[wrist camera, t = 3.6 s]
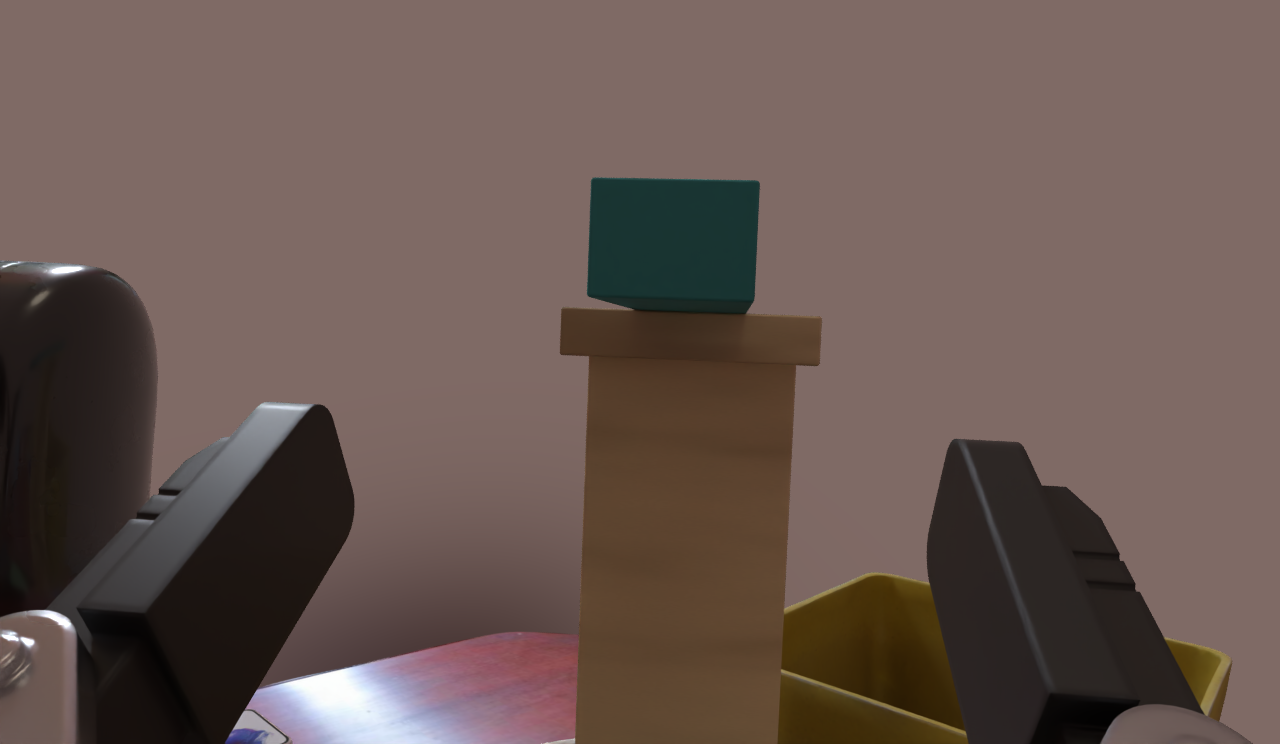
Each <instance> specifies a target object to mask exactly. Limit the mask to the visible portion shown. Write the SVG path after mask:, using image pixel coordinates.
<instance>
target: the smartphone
mask: <svg viewBox="0 0 1280 744" xmlns="http://www.w3.org/2000/svg"><path fill="white" fill-rule="evenodd" d="M225 744H292V740H291V738H290V737H289V736H287V735H286V734H285V733H284V732H282V731H281V730H280V729H279V728H277V727H276V726H275V725H274V724H272V723H271V722H270V721H269V720H267V719H266V718H265V717H263V716H262V715H261V714H260V713H258V712H257V711H255V710H252V709H247V710H244V712H243V713H242V715H241V717H240V718H239V720H238V722H237V724H236V725H235V727H234V729H233V730H232V732H231V734H230V735H229V737H228V739H227V740H226V742H225Z"/></svg>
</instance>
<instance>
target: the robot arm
mask: <svg viewBox="0 0 1280 744" xmlns="http://www.w3.org/2000/svg"><path fill="white" fill-rule="evenodd" d="M157 381H158V371H157V350H156V345H155V339H154V333H153V328H152V325H151V322H150V319H149V316H148V313H147V311H146V308H145V306H144V304H143V302H142V301H141V299H140V298H139V296H138V295H137V293H136V291H135V290H134V289H133V288H132V287H131V286H130V285H129V284H128V283H127V282H126V281H125V280H123V279H122V278H120V277H119V276H118V275H116V274H114V273H112V272H109V271H107V270H104V269H102V268H97V267H91V266H85V265H77V264H64V263H44V262H21V261H0V744H225V742H226V740H227V739H228V737H229V735H230V734H231V732H232V730H233V729H234V727H235V725H236V724H237V722H238V720H239V718H240V717H241V715H242V713H243V712H244V710H245V708H246V707H247V705H248V703H249V702H250V700H251V698H252V697H253V695H254V693H255V692H256V690H257V688H258V687H259V685H260V683H261V682H262V680H263V678H264V677H265V675H266V673H267V671H268V670H269V668H270V667H271V665H272V663H273V662H274V660H275V658H276V657H277V655H278V653H279V652H280V650H281V648H282V647H283V645H284V643H285V641H286V640H287V638H288V636H289V635H290V633H291V631H292V630H293V628H294V626H295V624H296V623H297V621H298V620H299V618H300V616H301V615H302V613H303V611H304V610H305V608H306V606H307V605H308V603H309V601H310V599H311V598H312V596H313V594H314V593H315V591H316V590H317V588H318V586H319V585H320V583H321V581H322V580H323V578H324V576H325V575H326V573H327V571H328V569H329V568H330V566H331V565H332V563H333V561H334V560H335V558H336V556H337V554H338V553H339V551H340V549H341V548H342V546H343V544H344V543H345V541H346V539H347V537H348V535H349V532H350V530H351V526H352V522H353V516H354V494H353V490H352V486H351V482H350V479H349V476H348V472H347V468H346V464H345V461H344V458H343V454H342V450H341V447H340V443H339V439H338V436H337V432H336V428H335V425H334V421H333V418H332V415H331V413H330V412H329V410H328V409H327V408H326V407H325V406H323V405H316V404H297V403H278V402H265V403H262V404H261V405H259V406H258V407H257V408H256V409H255V410H254V411H253V412H252V413H251V414H250V416H249V417H248V418H247V419H246V420H245V421H244V422H243V423H242V424H241V425H240V427H239V428H238V429H237V430H236V431H235V432H234V433H233V434H232V435H231V436H230V438H229V437H223V438H221V439H219V440H218V441H216V442H215V443H213V444H211V445H210V446H208V447H207V448H205V449H204V450H202V451H200V452H199V453H197V454H196V455H194V456H192V457H191V458H189V459H188V460H186V461H185V462H184V463H183V464H182V465H181V466H180V468H178V469H177V470H176V471H175V473H173V475H172V476H171V477H170V478H169V479H168V480H167V481H166V482H165V483H164V484H163V485H162V486H161V487H160V488H159V494H158V495H153V496H152V497H151V498H150V484H151V468H152V454H153V442H154V429H155V417H156V405H157V383H158V382H157ZM1119 555H1120V554H1119V552H1118V550H1117V548H1116V546H1115V544H1114V542H1113V540H1112V538H1111V537H1110V535H1109V533H1108V531H1107V529H1106V527H1105V525H1104V523H1103V521H1102V520H1101V518H1100V517H1099V516H1098V515H1097V514H1095V513H1094V512H1093V511H1092V510H1091V509H1090V508H1089V507H1088V506H1087V505H1086V504H1084V503H1083V502H1082V501H1081V500H1080V499H1079V498H1078V497H1077V496H1076V495H1075V494H1073V493H1072V492H1071V491H1070V490H1069V489H1068V488H1067V487H1058V486H1042V485H1041V483H1040V481H1039V479H1038V477H1037V474H1036V472H1035V470H1034V468H1033V466H1032V464H1031V461H1030V459H1029V457H1028V455H1027V453H1026V451H1025V449H1024V447H1023V446H1022V445H1021V444H1020V443H1018V442H1005V441H985V440H965V439H954V440H952V442H951V443H950V445H949V448H948V450H947V454H946V458H945V462H944V467H943V471H942V475H941V480H940V484H939V489H938V493H937V497H936V502H935V506H934V511H933V515H932V519H931V524H930V528H929V533H928V542H927V569H928V577H929V583H930V587H931V591H932V595H933V600H934V604H935V608H936V612H937V616H938V620H939V624H940V628H941V632H942V637H943V641H944V645H945V649H946V653H947V657H948V661H949V665H950V669H951V673H952V678H953V682H954V686H955V690H956V694H957V698H958V702H959V706H960V710H961V714H962V719H963V723H964V727H965V731H966V735H967V739H968V743H969V744H1253V743H1251V742H1250V741H1248V740H1247V739H1246V738H1244V737H1243V736H1242V735H1240V734H1239V733H1237V732H1236V731H1234V730H1232V729H1231V728H1229V727H1228V726H1226V725H1224V724H1222V723H1221V722H1219V721H1216V720H1214V719H1212V718H1210V717H1208V716H1206V715H1205V714H1204V712H1203V710H1202V709H1201V707H1200V705H1199V703H1198V701H1197V699H1196V698H1195V696H1194V694H1193V692H1192V690H1191V688H1190V686H1189V684H1188V682H1187V681H1186V679H1185V677H1184V675H1183V673H1182V671H1181V669H1180V667H1179V665H1178V663H1177V662H1176V660H1175V658H1174V656H1173V654H1172V652H1171V650H1170V648H1169V646H1168V644H1167V643H1166V641H1165V639H1164V637H1163V635H1162V633H1161V631H1160V629H1159V628H1158V626H1157V624H1156V622H1155V620H1154V618H1153V616H1152V614H1151V612H1150V610H1149V608H1148V607H1147V605H1146V603H1145V601H1144V599H1143V597H1142V595H1141V593H1140V592H1136V590H1135V582H1134V580H1133V578H1132V577H1131V574H1130V572H1129V571H1128V569H1127V567H1126V565H1125V563H1124V561H1120V559H1119Z"/></svg>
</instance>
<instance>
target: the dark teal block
mask: <svg viewBox="0 0 1280 744" xmlns="http://www.w3.org/2000/svg"><path fill="white" fill-rule="evenodd" d="M759 189H760V183H759V182H758V181H755V180H754V181H753V180H751V181H750V180H702V179H699V180H698V179H648V178H593V179H592V180H591V200H590V228H589V255H588V282H587V295H588V296H589V297H591V298H595V299H599V300H602V301H606V302H609V303H613V304H617V305H620V306H624V307H627V308H632V309H635V310H658V311H685V312H713V313H740V314H746V312H747V311H748V309H749V308H750V306H751V305H752V303H753V301H754V297H755V276H756V254H757V253H756V252H757V231H758V211H759V210H758V209H759Z"/></svg>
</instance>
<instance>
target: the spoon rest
mask: <svg viewBox="0 0 1280 744" xmlns="http://www.w3.org/2000/svg"><path fill="white" fill-rule="evenodd" d="M544 744H575V739H567V740H560V741H555V742H549V743H544Z"/></svg>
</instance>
